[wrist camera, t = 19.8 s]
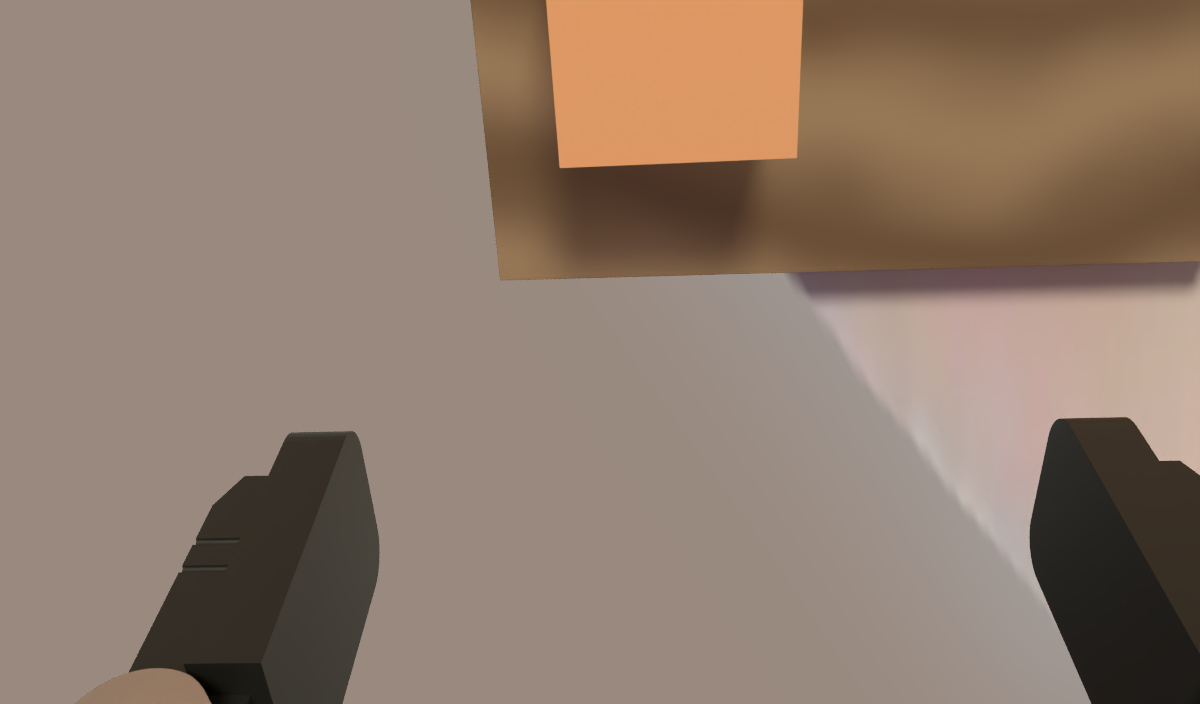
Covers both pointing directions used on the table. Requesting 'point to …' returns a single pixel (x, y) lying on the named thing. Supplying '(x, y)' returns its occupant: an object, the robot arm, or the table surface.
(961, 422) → the table surface
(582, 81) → the orange cube
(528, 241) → the base plate
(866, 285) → the table surface
